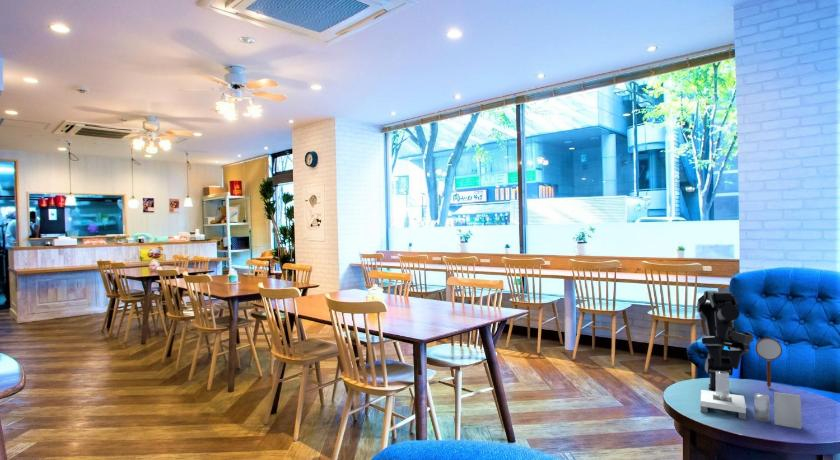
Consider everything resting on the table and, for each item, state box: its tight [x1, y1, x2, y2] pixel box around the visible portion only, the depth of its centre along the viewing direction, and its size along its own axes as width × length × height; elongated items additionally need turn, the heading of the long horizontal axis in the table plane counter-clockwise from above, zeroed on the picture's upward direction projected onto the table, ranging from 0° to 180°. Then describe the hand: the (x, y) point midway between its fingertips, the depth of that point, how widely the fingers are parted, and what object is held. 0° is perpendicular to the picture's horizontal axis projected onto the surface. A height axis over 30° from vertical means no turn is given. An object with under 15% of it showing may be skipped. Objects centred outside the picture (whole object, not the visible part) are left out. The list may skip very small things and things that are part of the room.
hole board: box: [700, 389, 747, 420], centre depth 167 cm, size 13×13×4 cm
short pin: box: [753, 392, 770, 423], centre depth 157 cm, size 4×4×8 cm
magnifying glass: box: [754, 337, 783, 389], centre depth 187 cm, size 9×2×20 cm, turn 64°
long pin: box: [715, 371, 730, 412], centre depth 167 cm, size 4×4×13 cm
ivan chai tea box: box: [773, 391, 803, 430], centre depth 153 cm, size 4×7×10 cm, turn 57°
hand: (727, 367), depth 173 cm, fingers open, 9 cm apart
